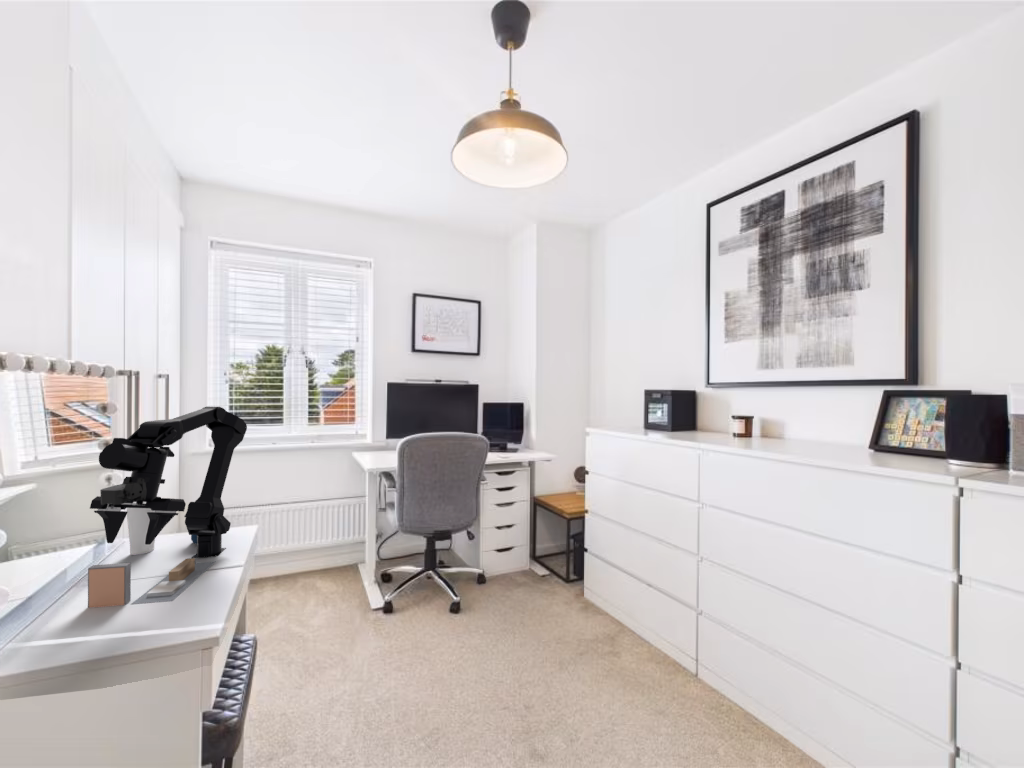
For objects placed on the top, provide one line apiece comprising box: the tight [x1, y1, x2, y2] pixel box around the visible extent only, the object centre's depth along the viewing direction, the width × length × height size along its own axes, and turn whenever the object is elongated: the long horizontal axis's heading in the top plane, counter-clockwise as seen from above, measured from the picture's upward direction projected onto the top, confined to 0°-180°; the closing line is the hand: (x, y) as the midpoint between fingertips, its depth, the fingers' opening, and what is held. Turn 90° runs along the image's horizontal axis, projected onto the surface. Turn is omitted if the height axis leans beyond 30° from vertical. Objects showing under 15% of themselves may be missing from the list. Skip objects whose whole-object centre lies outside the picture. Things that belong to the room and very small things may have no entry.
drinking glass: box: [126, 502, 156, 556], centre depth 127 cm, size 7×7×15 cm
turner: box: [147, 557, 196, 597], centre depth 108 cm, size 14×5×3 cm, turn 12°
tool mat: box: [131, 561, 217, 605], centre depth 109 cm, size 22×8×1 cm, turn 12°
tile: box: [87, 562, 132, 609], centre depth 97 cm, size 2×7×9 cm, turn 102°
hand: (128, 543), depth 101 cm, fingers open, 9 cm apart
